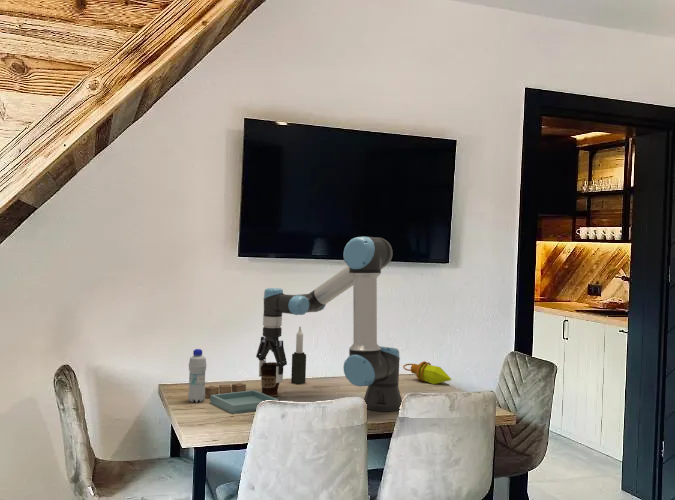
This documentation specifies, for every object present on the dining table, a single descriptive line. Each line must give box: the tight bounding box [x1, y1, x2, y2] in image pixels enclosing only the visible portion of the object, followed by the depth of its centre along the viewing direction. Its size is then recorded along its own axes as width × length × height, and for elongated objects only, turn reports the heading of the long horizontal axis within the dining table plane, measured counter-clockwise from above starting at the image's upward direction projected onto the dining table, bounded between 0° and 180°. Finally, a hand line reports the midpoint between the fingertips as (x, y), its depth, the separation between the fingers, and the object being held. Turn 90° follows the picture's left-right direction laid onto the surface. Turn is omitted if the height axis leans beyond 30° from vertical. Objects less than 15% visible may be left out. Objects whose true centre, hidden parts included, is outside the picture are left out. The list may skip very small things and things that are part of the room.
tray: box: [209, 389, 280, 415], centre depth 253 cm, size 19×19×3 cm
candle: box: [290, 326, 307, 385], centre depth 297 cm, size 5×5×25 cm
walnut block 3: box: [231, 382, 247, 393], centre depth 272 cm, size 4×4×4 cm
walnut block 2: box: [218, 384, 232, 394], centre depth 268 cm, size 4×4×4 cm
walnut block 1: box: [205, 385, 219, 399], centre depth 265 cm, size 4×4×4 cm
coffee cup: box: [260, 361, 280, 397], centre depth 271 cm, size 9×8×13 cm
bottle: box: [187, 348, 207, 404], centre depth 257 cm, size 7×7×20 cm
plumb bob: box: [402, 360, 453, 385], centre depth 308 cm, size 9×9×25 cm
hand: (270, 379), depth 271 cm, fingers open, 13 cm apart
